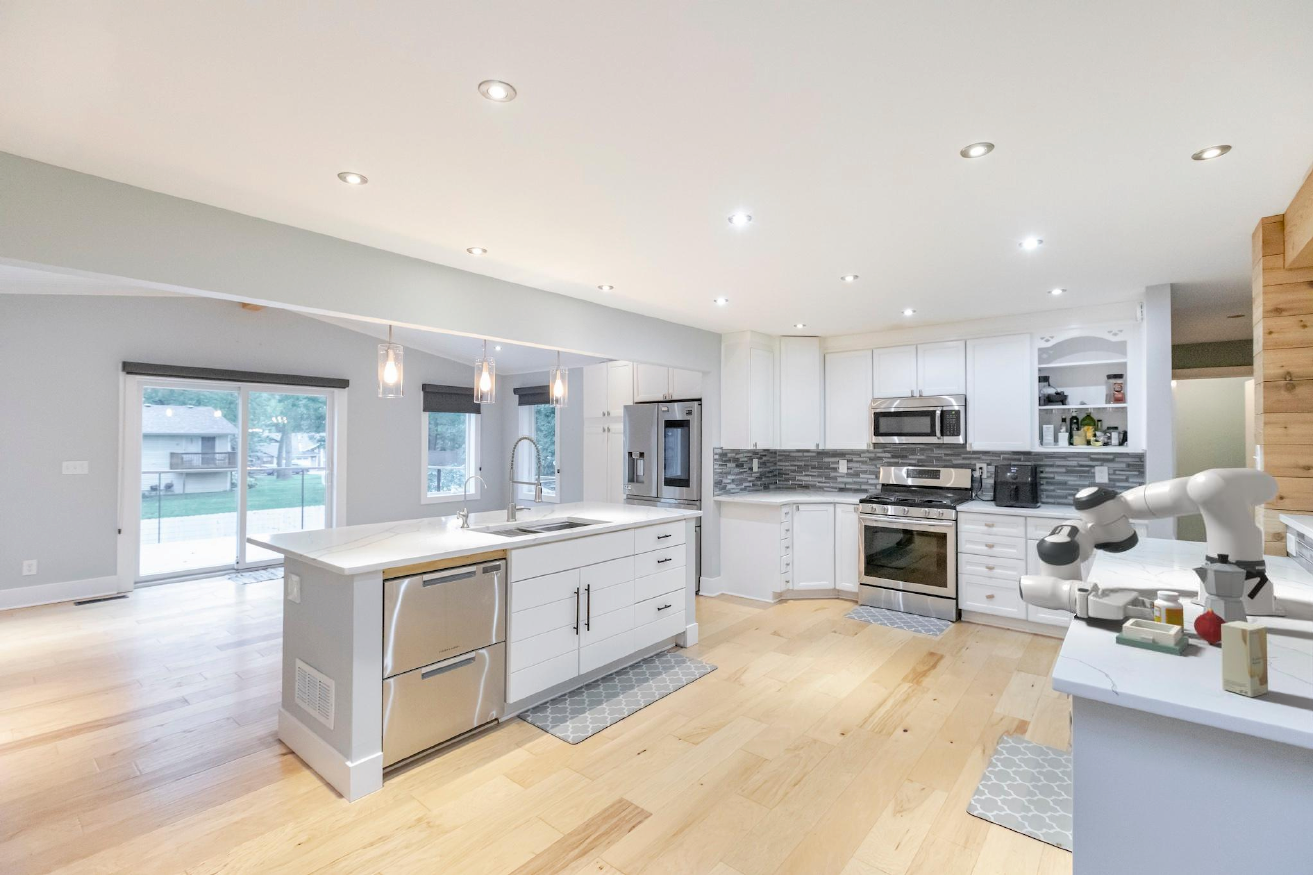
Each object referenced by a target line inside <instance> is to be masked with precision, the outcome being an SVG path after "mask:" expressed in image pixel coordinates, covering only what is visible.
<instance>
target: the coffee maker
mask: <svg viewBox="0 0 1313 875" xmlns="http://www.w3.org/2000/svg"><path fill="white" fill-rule="evenodd" d="M1217 556H1218V560H1219V563H1214V564H1206V565H1205V564H1201V566H1198V567H1193V568H1191V570H1193V571H1194V572H1195V574H1196V575H1197V576H1198V579H1199V578H1200V579H1201V581H1202V582H1203V584H1204V587H1205V591H1206V592H1207V593H1208V596H1207V597H1206V599H1205V604H1204V606H1203V611H1202V614H1204V613H1206V612H1207V611H1208V609H1209V608H1210V609H1212V610H1213V612H1214V613H1215V614H1217V615H1218V616H1220V617H1221V618H1222V619H1223V620H1224V621H1225V622H1226V623H1228V622H1235V621H1242V622H1247V623H1249V622H1248V617H1247V614H1246V613H1245V609H1244V605H1243V601H1241V600H1240V597H1242V596H1243V589H1244V582H1245V581H1246V580H1250V579H1254V578H1260V580H1259V582H1258V583H1257V584H1256V585H1255V587H1254V588H1253V589H1252V590H1251V592H1250V593H1249V594H1248V595H1247V596H1248V597H1249V598H1250V599H1252V600H1253V599H1254V598H1255V596H1256V595H1257V594H1258V593H1259V591H1260V590H1261V589H1262V588H1263V586H1264V585H1265V584H1266V583H1267V581H1268V580H1270V579H1269V578H1268V576H1267V574H1266V573H1264V572H1263V571H1260V570H1257V569H1252V568H1248V567H1245V566H1240V567H1237V566H1233V565H1230V564H1227V562H1228V558H1229V555H1228V554H1217Z"/></svg>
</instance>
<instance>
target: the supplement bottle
mask: <svg viewBox="0 0 1313 875" xmlns="http://www.w3.org/2000/svg"><path fill="white" fill-rule="evenodd" d="M1156 592H1157V594H1156V595H1157V598H1158V599H1155V600H1154V601H1155V602H1154V609H1153V612H1154V615H1153V616H1154V622H1159V623H1165V624H1171V625H1177V626H1181V632H1182V636H1184V634H1185V625H1184V624H1185V621H1184V605H1183V603H1181V602H1180V601H1179V600H1180V594H1179V592H1175V591H1169V590H1158V591H1156Z"/></svg>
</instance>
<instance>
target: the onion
mask: <svg viewBox="0 0 1313 875" xmlns="http://www.w3.org/2000/svg"><path fill="white" fill-rule="evenodd" d="M1225 623H1226V622H1225V621H1224V620H1223V619H1222V618H1221V617H1220V616H1218V615H1217V614H1215V613H1214V612H1213V610H1212V609H1210V608H1209V609H1208V611H1207V612H1206V613H1204V614H1203V613H1202V614H1200V615H1199V616H1197V617H1196V618H1195V620H1194V623H1193V628H1194V631H1195V632H1196V634H1197V635H1198V636H1199V637H1200V638H1201V639H1203V640H1204V641H1205V642H1207V643H1208V644H1210V645H1215V644H1217V643H1220V642H1222V633H1221V624H1225Z"/></svg>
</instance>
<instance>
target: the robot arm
mask: <svg viewBox="0 0 1313 875" xmlns="http://www.w3.org/2000/svg"><path fill="white" fill-rule="evenodd" d="M1278 493H1279V483H1278V481H1277V480H1276V478H1275V477H1274V476H1272V474H1270V473H1268V472H1266V471H1263V470H1260V469H1256V468H1252V467H1234V468H1233V467H1230V468H1227V467H1224V468H1208V469H1206V470H1203V471H1200V472H1197V473H1195V474H1194V475H1190V476H1182V477H1177V478H1172V479H1171V478H1170V479H1167V480H1161V481H1156V482H1151V483H1147V484H1143V485H1139V486H1135V487H1132V488H1130V489H1127V490H1125V491H1123V492H1122V493H1120V494H1119V492H1118V491H1117V490H1115V489H1109V488H1107V487H1102V486H1091V487H1086V488H1083V489H1082V490H1080V491H1079V492H1077V493H1076V494H1075V495H1073V498H1072V505H1073V507H1074V510H1076V511H1077V513H1078V516H1080V519H1077V518H1076V519H1068V520H1064V522H1062V523H1060V525H1057V526H1055V527H1054V528H1052V531H1051V532H1050V533H1049V534H1048V535H1046V536H1043V538H1041V539H1040V540H1039V541H1038V542H1037V544H1036V550H1037V555H1038V558H1039V569H1040V574H1037V575H1036V574H1024V575H1021V576H1020V577H1019V581H1018V588H1019V597H1020V599H1021V600H1022V602H1024V603H1025V604H1028V605H1031V606H1035V607H1038V608H1042V609H1048V610H1053V611H1065V612H1068V613H1071V614H1076V615H1077V617H1079V618H1084V619H1087V618H1089V617H1091V618H1095V619H1096V618H1098V619H1105V620H1112V621H1113V620H1114V621H1118V620H1123V619H1125V617H1127V616H1131V617H1147V618H1150V617H1151V616H1152V615H1153V613H1152V612H1153V610H1154V602H1155V600H1151V599H1147V598H1144V597H1141V596H1140V595H1141V594H1140V592H1137V591H1133V590H1126V589H1118V588H1100V587H1099V585H1098V583H1096V582H1092V581H1085V580H1084V581H1083V574H1082V566H1081V565H1082V564H1084V563H1085V562H1087V561H1089V560H1090V558H1091V557H1092V555H1093V554H1094V550H1098V551H1103V552H1106V553H1112V554H1121V553H1123V552H1127V551H1129V550H1131V549H1133V548H1135V547H1136V546H1137V545H1138V543H1139V536H1138V533H1137V530H1136V529H1134V527H1133V525H1132V523H1131V521H1130V520H1132V521H1133V520H1135V521H1149V520H1153V521H1154V520H1163V519H1169V518H1175V517H1176V518H1177V517H1184V516H1191V515H1198V514H1201V516H1202V520H1203V523H1204V526H1205V532H1206V549H1207V550H1206V551H1207V554H1206V555H1205V559H1204V562H1205V563H1204V565H1206V564H1214V563H1219V560H1218V556H1217V554H1228V555H1229V558H1228V562H1227V564H1230V565H1233V566H1237V567H1240V566H1245V567H1248V568H1252V569H1257V570H1260V571H1263V572H1264V573H1265V574H1266V573H1267V571H1266V569H1267V564H1266V561H1265V559H1264V552H1263V551H1264V550H1263V547H1264V546H1263V530H1261V528H1260V527H1258V525H1257V524H1256V522H1255V521H1254V519H1253V516H1252V513H1251V511H1250V508H1254V507H1258V506H1259V507H1260V506H1261V505H1264V504H1266V503H1268V502H1270V501H1273V499H1275V498H1276V497H1277V495H1278ZM1259 580H1260V578H1254V579H1250V580H1246V581H1245V582H1244V589H1243V596H1242V597H1240V600H1241V601H1243V605H1244V609H1245V613H1246V615H1251V616H1281V617H1283V616H1284V617H1285V616H1287V615H1286V611H1285V610H1284V609H1283V607H1282V606H1280V604H1279V603H1277V601H1276V600H1277V596H1276V595H1275V588H1274V583H1273V582H1272V581H1271V580H1270V579H1269V580H1268V581H1267V583H1266V584H1265V585H1264V586H1263V588H1262V589H1261V590H1260V591H1259V593H1258V594H1257V595H1256V596H1255V598H1254V599H1253V600H1252V599H1250V598H1249V597H1248V596H1247V595H1248V594H1249V593H1250V592H1251V590H1252V589H1253V588H1254V587H1255V585H1256V584H1257V583H1258V582H1259ZM1197 587H1198V591H1197V592H1198V594H1197V596H1194V597H1192V598H1190V600H1189V601H1190V603H1192V604H1197V605H1201V606H1203V607H1204V604H1205V599H1206V597H1207V596H1208V593H1207V592H1206V591H1205V587H1204V584H1203V582H1202V581H1201V579H1200V578H1199V577H1198V586H1197Z"/></svg>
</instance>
